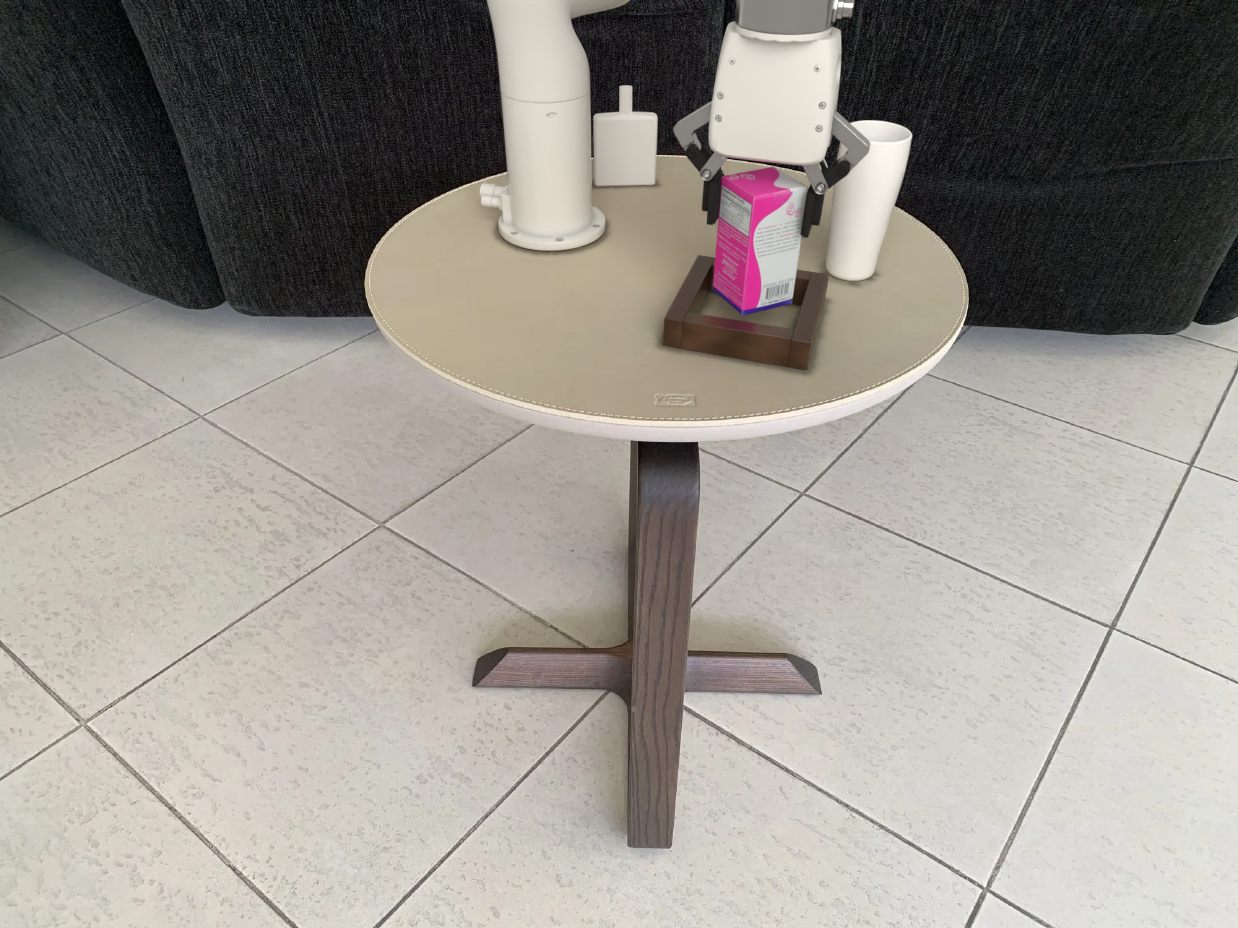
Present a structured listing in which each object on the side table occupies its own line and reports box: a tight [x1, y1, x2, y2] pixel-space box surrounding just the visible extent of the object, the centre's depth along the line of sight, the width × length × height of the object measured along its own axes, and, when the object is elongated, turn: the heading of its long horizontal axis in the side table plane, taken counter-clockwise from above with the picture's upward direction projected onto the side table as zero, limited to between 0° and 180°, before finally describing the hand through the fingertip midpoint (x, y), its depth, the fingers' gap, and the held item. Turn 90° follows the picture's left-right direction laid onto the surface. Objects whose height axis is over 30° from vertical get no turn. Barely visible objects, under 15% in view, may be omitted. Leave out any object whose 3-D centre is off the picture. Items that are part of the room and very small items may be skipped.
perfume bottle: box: [592, 84, 659, 187], centre depth 105 cm, size 8×2×12 cm, turn 95°
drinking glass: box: [824, 119, 913, 282], centre depth 86 cm, size 7×7×15 cm
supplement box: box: [713, 166, 810, 317], centre depth 77 cm, size 6×6×12 cm
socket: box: [662, 254, 830, 371], centre depth 81 cm, size 14×14×3 cm
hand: (759, 224), depth 76 cm, fingers closed on supplement box, 8 cm apart
